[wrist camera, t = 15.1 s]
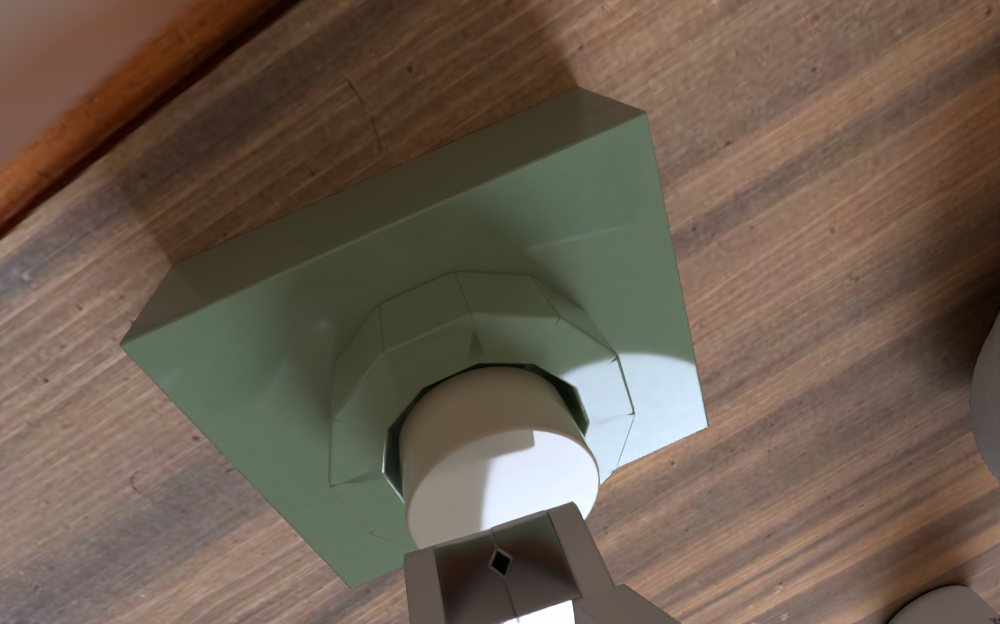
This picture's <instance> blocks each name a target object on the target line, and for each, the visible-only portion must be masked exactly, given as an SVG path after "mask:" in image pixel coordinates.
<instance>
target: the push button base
mask: <svg viewBox="0 0 1000 624" xmlns="http://www.w3.org/2000/svg"><path fill="white" fill-rule="evenodd" d="M120 347H121V348H122V349H123V350H124V351H125V352H126V353H127V354H128V355H129V356H130V357H131V359H132V360H133V361H134V362H135V363H136V364H137V365H138V366H139V367H140V368H141V369H142V370H143V371H144V372H145V373H146V374H147V375H148V376H149V377H150V378H151V380H152V381H153V382H154V383H155V384H156V385H157V386H158V387H159V388H160V389H161V390H162V391H163V392H164V393H165V394H166V395H167V396H168V397H169V398H170V399H171V400H172V402H173V403H174V404H175V405H176V406H177V407H178V408H179V409H180V410H181V411H182V412H183V413H184V414H185V415H186V416H187V417H188V418H189V419H190V420H191V421H192V423H193V424H194V425H195V426H196V427H197V428H198V429H199V430H200V431H201V432H202V433H203V434H204V435H205V436H206V437H207V438H208V439H209V440H210V441H211V442H212V444H213V445H214V446H215V447H216V448H217V449H218V450H219V451H220V452H221V453H222V454H223V455H224V456H225V457H226V458H227V459H228V460H229V461H230V462H231V463H232V465H233V466H234V467H235V468H236V469H237V470H238V471H239V472H240V473H241V474H242V475H243V476H244V477H245V478H246V479H247V480H248V481H249V482H250V483H251V484H252V486H253V487H254V488H255V489H256V490H257V491H258V492H259V493H260V494H261V495H262V496H263V497H264V498H265V499H266V500H267V501H268V502H269V503H270V504H271V505H272V506H273V508H274V509H275V510H276V511H277V512H278V513H279V514H280V515H281V516H282V517H283V518H284V519H285V520H286V521H287V522H288V523H289V524H290V525H291V526H292V527H293V529H294V530H295V531H296V532H297V533H298V534H299V535H300V536H301V537H302V538H303V539H304V540H305V541H306V542H307V543H308V544H309V545H310V546H311V547H312V548H313V550H314V551H315V552H316V553H317V554H318V555H319V556H320V557H321V558H322V559H323V560H324V561H325V562H326V563H327V564H328V565H329V566H330V567H331V568H332V569H333V571H334V572H335V573H336V574H337V575H338V576H339V577H340V578H341V579H342V580H343V581H344V582H345V583H346V584H347V585H348V586H349V587H350V588H351V589H354V588H356V587H358V586H361V585H363V584H365V583H367V582H369V581H372V580H374V579H376V578H378V577H380V576H383V575H385V574H387V573H389V572H391V571H393V570H396V569H398V568H400V567H402V566H404V554H406V553H410V552H413V551H416V550H419V548H418V547H417V546H416V545H415V543H414V542H413V540H412V538H411V537H410V534H409V532H408V529H407V524H406V518H405V509H404V500H403V490H402V481H401V472H400V463H399V454H398V441H399V436H400V432H401V429H402V426H403V423H404V421H405V420H406V418H407V416H408V414H409V412H410V411H411V410H412V408H413V407H414V405H415V404H416V403H417V402H418V401H419V400H420V399H421V398H422V397H423V396H424V395H425V394H426V393H427V392H428V391H430V390H431V389H432V388H434V387H435V386H437V385H438V384H440V383H441V382H443V381H445V380H447V379H449V378H450V377H452V376H455V375H457V374H460V373H462V372H465V371H469V370H473V369H476V368H483V367H490V366H508V367H515V368H521V369H524V370H527V371H531V372H533V373H535V374H537V375H539V376H541V377H543V378H544V379H546V380H547V381H549V382H550V383H551V384H552V385H553V386H554V387H555V388H557V390H558V391H559V392H560V394H561V395H562V397H563V399H564V401H565V402H566V404H567V406H568V408H569V410H570V412H571V414H572V415H573V417H574V419H575V421H576V423H577V425H578V427H579V428H580V430H581V432H582V434H583V436H584V438H585V440H586V441H587V443H588V445H589V447H590V449H591V451H592V453H593V454H594V456H595V458H596V460H597V464H598V467H599V473H600V485H601V484H602V483H603V482H604V481H606V480H607V479H608V478H609V477H610V476H611V475H612V474H613V472H614V471H615V470H616V469H617V468H619V467H622V466H624V465H626V464H628V463H630V462H633V461H635V460H637V459H639V458H641V457H644V456H646V455H648V454H650V453H652V452H655V451H657V450H659V449H661V448H663V447H665V446H668V445H670V444H672V443H674V442H676V441H679V440H681V439H683V438H685V437H687V436H690V435H692V434H694V433H696V432H698V431H701V430H703V429H705V428H707V427H708V426H709V424H708V419H707V414H706V409H705V404H704V399H703V394H702V389H701V384H700V379H699V374H698V369H697V364H696V359H695V354H694V349H693V343H692V338H691V333H690V328H689V323H688V318H687V313H686V308H685V303H684V298H683V293H682V288H681V283H680V278H679V273H678V268H677V263H676V258H675V253H674V248H673V243H672V238H671V233H670V228H669V223H668V218H667V213H666V208H665V203H664V197H663V192H662V187H661V182H660V177H659V172H658V167H657V162H656V157H655V152H654V147H653V142H652V137H651V132H650V127H649V122H648V117H647V113H646V111H644V110H641V109H638V108H636V107H633V106H630V105H628V104H625V103H622V102H619V101H617V100H614V99H611V98H609V97H606V96H603V95H600V94H598V93H595V92H592V91H590V90H587V89H584V88H581V87H577V88H574V89H572V90H570V91H568V92H565V93H563V94H561V95H559V96H556V97H554V98H552V99H549V100H547V101H545V102H543V103H540V104H538V105H536V106H534V107H531V108H529V109H527V110H524V111H522V112H520V113H518V114H515V115H513V116H511V117H509V118H506V119H504V120H502V121H500V122H497V123H495V124H493V125H490V126H488V127H486V128H484V129H481V130H479V131H477V132H475V133H472V134H470V135H468V136H465V137H463V138H461V139H459V140H456V141H454V142H452V143H450V144H447V145H445V146H443V147H440V148H438V149H436V150H434V151H431V152H429V153H427V154H425V155H422V156H420V157H418V158H415V159H413V160H411V161H409V162H406V163H404V164H402V165H400V166H397V167H395V168H393V169H390V170H388V171H386V172H384V173H381V174H379V175H377V176H375V177H372V178H370V179H368V180H366V181H363V182H361V183H359V184H356V185H354V186H352V187H350V188H347V189H345V190H343V191H341V192H338V193H336V194H334V195H331V196H329V197H327V198H325V199H322V200H320V201H318V202H316V203H313V204H311V205H309V206H306V207H304V208H302V209H300V210H297V211H295V212H293V213H291V214H288V215H286V216H284V217H281V218H279V219H277V220H275V221H272V222H270V223H268V224H266V225H263V226H261V227H259V228H256V229H254V230H252V231H250V232H247V233H245V234H243V235H241V236H238V237H236V238H234V239H232V240H229V241H227V242H225V243H222V244H220V245H218V246H216V247H213V248H211V249H209V250H207V251H204V252H202V253H200V254H197V255H195V256H193V257H191V258H188V259H186V260H184V261H182V262H179V263H177V264H175V265H172V267H171V268H170V269H169V271H168V272H167V274H166V275H165V277H164V278H163V280H162V281H161V283H160V284H159V286H158V287H157V289H156V290H155V292H154V293H153V295H152V296H151V298H150V299H149V301H148V302H147V304H146V305H145V307H144V308H143V310H142V311H141V312H140V314H139V315H138V317H137V318H136V320H135V321H134V323H133V324H132V326H131V327H130V329H129V330H128V332H127V333H126V335H125V336H124V338H123V339H122V341H121V342H120ZM600 485H599V486H600Z"/></svg>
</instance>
